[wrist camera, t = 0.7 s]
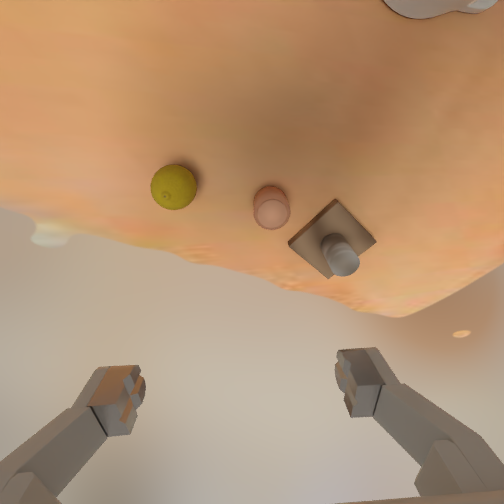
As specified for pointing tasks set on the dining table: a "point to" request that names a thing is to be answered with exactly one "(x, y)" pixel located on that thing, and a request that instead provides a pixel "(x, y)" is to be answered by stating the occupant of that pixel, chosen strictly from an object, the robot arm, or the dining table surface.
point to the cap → (271, 208)
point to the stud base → (325, 227)
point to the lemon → (173, 187)
